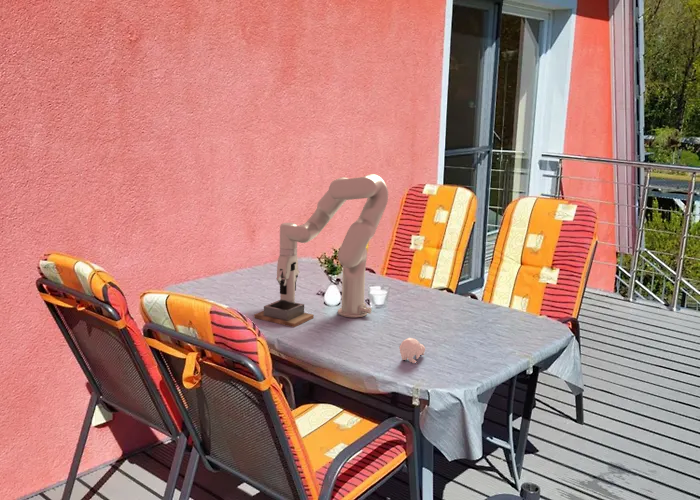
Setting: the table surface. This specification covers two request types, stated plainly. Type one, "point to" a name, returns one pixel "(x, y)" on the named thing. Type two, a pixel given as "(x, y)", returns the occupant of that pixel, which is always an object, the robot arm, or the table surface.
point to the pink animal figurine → (411, 349)
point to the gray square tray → (283, 310)
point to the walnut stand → (292, 322)
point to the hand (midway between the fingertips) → (287, 291)
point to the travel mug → (290, 286)
